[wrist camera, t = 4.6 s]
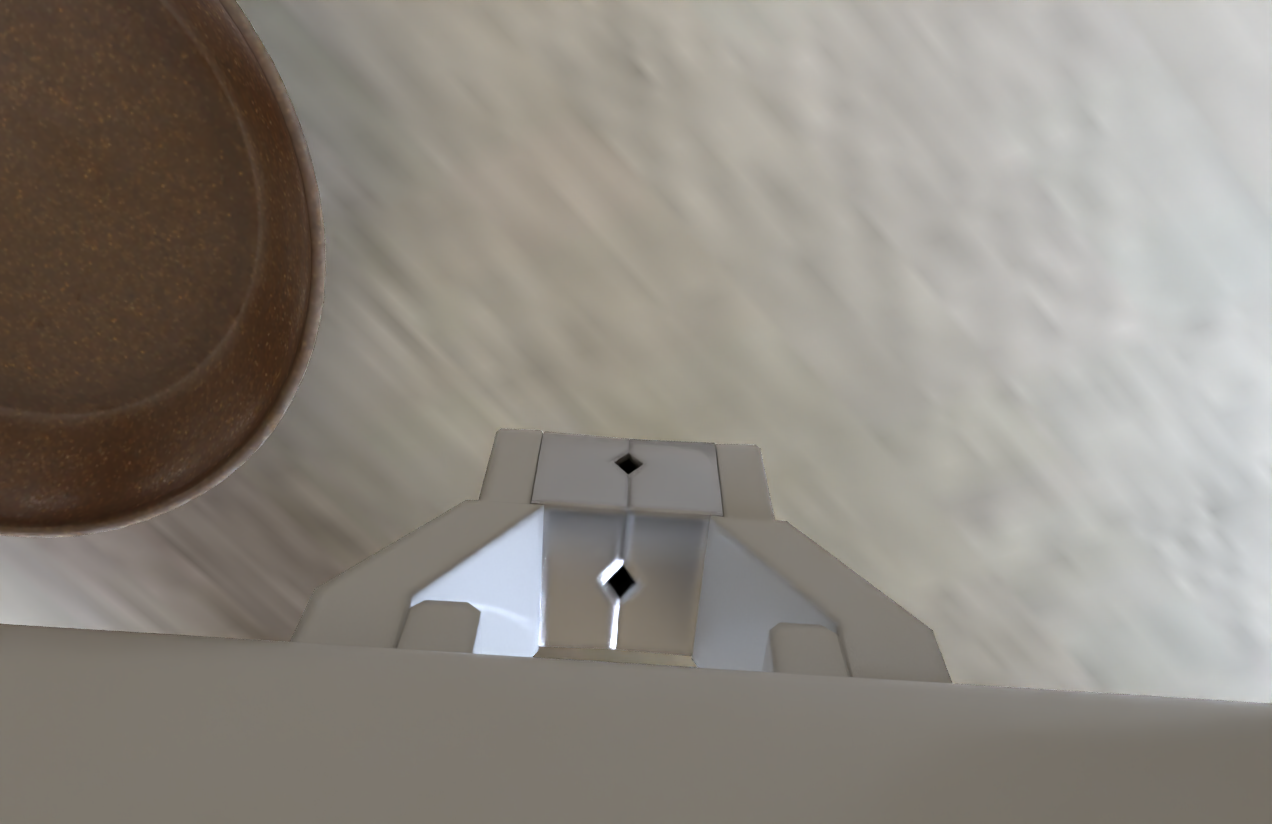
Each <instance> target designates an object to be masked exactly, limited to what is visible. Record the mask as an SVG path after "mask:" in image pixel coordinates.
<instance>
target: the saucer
mask: <svg viewBox="0 0 1272 824" xmlns="http://www.w3.org/2000/svg"><path fill="white" fill-rule="evenodd" d="M325 272H326V258H325V229H324V222H323V215H322V208H321V201H320V194H319V190H318V186H317V181H316V177H315V173H314V169H313V164H312V160H311V157H310V153H309V150H308V146H307V143H306V140H305V137H304V134H303V131H302V128H301V126H300V123H299V120H298V117H297V115H296V112H295V109H294V106H293V104H292V102H291V100H290V98H289V96H288V93H287V91H286V88H285V86H284V84H283V82H282V79H281V77H280V75H279V73H278V71H277V69H276V67H275V65H274V63H273V61H272V59H271V57H270V56H269V54H268V52H267V50H266V48H265V47H264V45H263V44H262V42H261V40H260V39H259V37H258V36H257V34H256V32H255V31H254V29H253V27H252V25H251V23H250V22H249V20H248V18H247V17H246V16H245V14H244V13H243V11H242V10H241V9H240V7H239V6H238V4H237V2H236V1H235V0H0V535H2V536H15V537H33V538H46V537H76V536H82V535H88V534H93V533H99V532H104V531H110V530H115V529H120V528H123V527H126V526H129V525H132V524H136V523H140V522H143V521H147V520H149V519H152V518H154V517H156V516H159V515H161V514H163V513H165V512H168V511H171V510H173V509H176V508H178V507H180V506H182V505H183V504H185V503H187V502H189V501H191V500H193V499H194V498H196V497H198V496H200V495H202V494H204V493H205V492H206V491H208V490H209V489H211V488H213V487H214V486H216V485H218V484H219V483H221V482H222V481H224V480H225V479H226V478H227V477H228V476H229V475H231V474H232V473H233V472H234V471H235V470H236V469H238V468H239V467H240V466H241V465H242V464H244V463H245V462H246V461H247V460H248V459H249V457H250V456H251V455H252V454H253V453H254V452H255V451H256V450H257V449H258V448H259V447H260V446H261V445H262V444H263V443H264V442H265V441H266V439H267V438H268V437H269V436H270V435H271V434H272V432H273V431H274V429H275V427H276V426H277V425H278V424H279V422H280V420H281V419H282V417H283V416H284V414H285V413H286V411H287V409H288V407H289V405H290V403H291V402H292V400H293V398H294V396H295V394H296V392H297V390H298V387H299V385H300V383H301V381H302V379H303V377H304V375H305V373H306V370H307V368H308V365H309V362H310V359H311V356H312V353H313V350H314V347H315V342H316V337H317V333H318V329H319V324H320V320H321V312H322V306H323V303H324V288H325Z"/></svg>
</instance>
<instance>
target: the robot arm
mask: <svg viewBox="0 0 1272 824" xmlns="http://www.w3.org/2000/svg"><path fill="white" fill-rule="evenodd" d="M539 647H567V648H594V649H617V650H629V651H640V652H651V653H662V654H673V655H685V656H692V660H693V661H694V663H695V664H696V665H697V667H698V668H697V667H682V666H666V665H650V664H634V663H618V662H602V661H586V660H570V659H554V658H538V657H533V656H534V655H535V654H536V652H537V651H538V650H539ZM0 824H1272V703H1257V702H1242V701H1226V700H1210V699H1194V698H1178V697H1162V696H1146V695H1130V694H1114V693H1098V692H1082V691H1066V690H1050V689H1034V688H1018V687H1002V686H986V685H970V684H954V683H952V681H951V678H950V676H949V673H948V670H947V668H946V665H945V662H944V660H943V657H942V654H941V652H940V649H939V646H938V644H937V641H936V638H935V636H934V633H933V630H932V629H930V628H929V627H928V626H926V625H925V624H924V623H922V622H921V621H920V620H918V619H917V618H916V617H914V616H913V615H912V614H910V613H909V612H908V611H906V610H905V609H904V608H902V607H901V606H900V605H898V604H897V603H896V602H894V601H893V600H892V599H890V598H889V597H888V596H886V595H885V594H884V593H882V592H881V591H880V590H878V589H877V588H876V587H874V586H873V585H872V584H870V583H869V582H868V581H866V580H865V579H864V578H862V577H861V576H860V575H858V574H857V573H856V572H854V571H853V570H852V569H850V568H849V567H848V566H846V565H845V564H844V563H842V562H841V561H839V560H838V559H837V558H835V557H834V556H833V555H831V554H830V553H829V552H827V551H826V550H825V549H823V548H822V547H821V546H819V545H818V544H817V543H815V542H814V541H813V540H811V539H810V538H809V537H807V536H806V535H805V534H803V533H802V532H801V531H799V530H798V529H797V528H795V527H794V526H793V525H791V524H790V523H789V522H787V521H778V520H775V517H774V513H773V508H772V503H771V498H770V493H769V488H768V483H767V478H766V474H765V469H764V464H763V459H762V454H761V449H760V448H759V447H758V446H757V445H748V444H715V443H706V442H683V441H661V440H639V439H627V438H616V437H604V436H593V435H581V434H570V433H558V432H547V431H545V432H544V433H543V432H542V431H541V430H528V429H505V428H501V429H499V430H498V431H497V432H496V436H495V439H494V443H493V447H492V451H491V455H490V458H489V462H488V466H487V470H486V473H485V477H484V481H483V485H482V488H481V492H480V496H479V500H465V501H463V502H462V503H460V504H458V505H457V506H455V507H453V508H452V509H450V510H448V511H447V512H445V513H443V514H441V515H440V516H438V517H436V518H435V519H433V520H431V521H430V522H428V523H426V524H424V525H423V526H421V527H419V528H418V529H416V530H414V531H413V532H411V533H409V534H407V535H406V536H404V537H402V538H401V539H399V540H397V541H396V542H394V543H392V544H390V545H389V546H387V547H385V548H384V549H382V550H380V551H379V552H377V553H375V554H373V555H372V556H370V557H368V558H367V559H365V560H363V561H362V562H360V563H358V564H356V565H355V566H353V567H351V568H350V569H348V570H346V571H345V572H343V573H341V574H339V575H338V576H336V577H334V578H333V579H331V580H329V581H328V582H326V583H324V584H323V585H321V586H319V587H317V588H316V589H314V591H313V593H312V595H311V597H310V600H309V602H308V604H307V606H306V608H305V610H304V612H303V615H302V617H301V619H300V621H299V623H298V625H297V627H296V630H295V632H294V634H293V636H292V638H291V640H290V642H283V641H267V640H251V639H235V638H219V637H203V636H187V635H171V634H155V633H139V632H123V631H107V630H91V629H74V628H58V627H42V626H26V625H10V624H0Z"/></svg>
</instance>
